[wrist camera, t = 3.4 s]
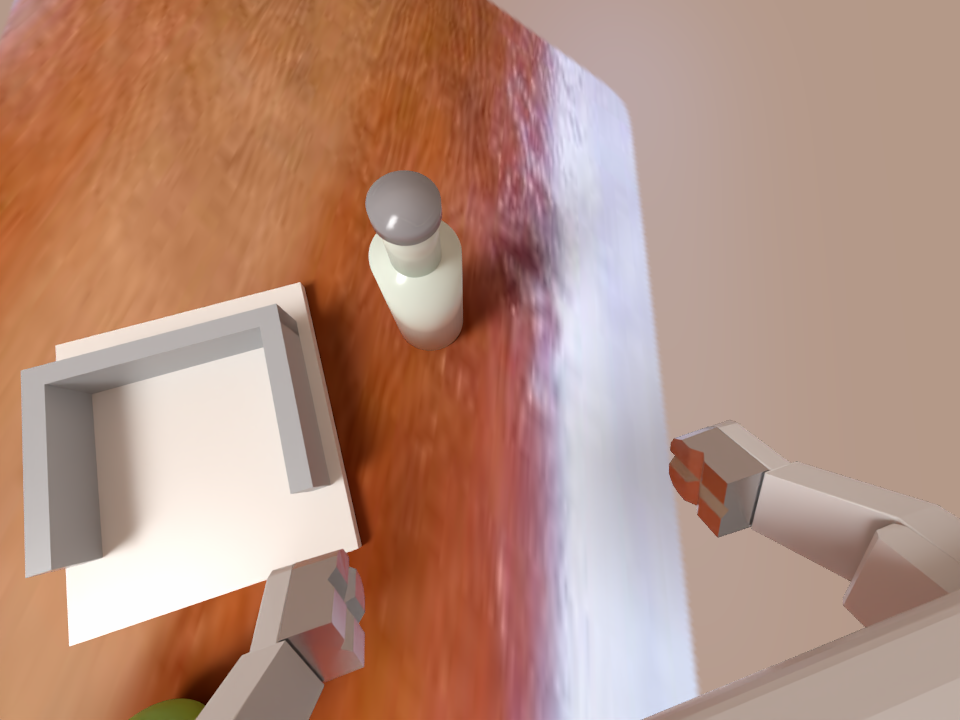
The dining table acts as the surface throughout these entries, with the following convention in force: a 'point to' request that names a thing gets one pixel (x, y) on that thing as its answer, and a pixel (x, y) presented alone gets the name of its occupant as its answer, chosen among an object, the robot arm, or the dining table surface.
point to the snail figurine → (171, 710)
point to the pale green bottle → (416, 259)
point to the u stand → (181, 460)
